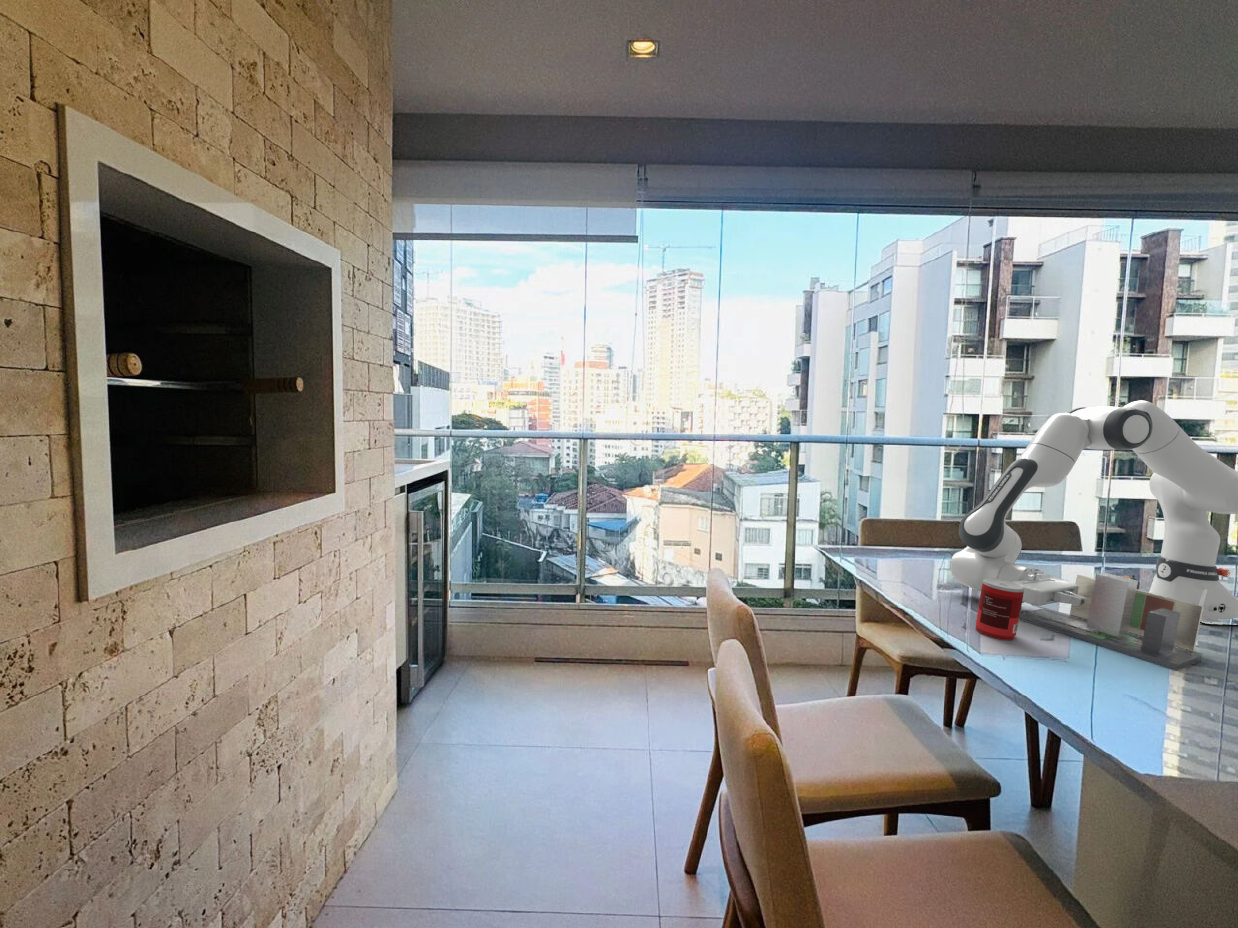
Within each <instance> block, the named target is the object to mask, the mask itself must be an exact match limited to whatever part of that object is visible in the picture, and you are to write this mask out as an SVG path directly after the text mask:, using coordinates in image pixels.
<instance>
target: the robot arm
mask: <svg viewBox="0 0 1238 928" xmlns="http://www.w3.org/2000/svg"><path fill="white" fill-rule="evenodd" d="M1085 449H1089V450H1094V451H1095V450H1097V451H1103V450H1104V451H1108V450H1109V451H1113V450H1117V451H1128V450H1132V451H1133V452H1134V453H1135V455H1137V456H1138V457H1139V459H1140V460H1141V461H1142V462H1143V463H1144V464H1145V465H1146V466H1147V468H1149V469H1150V470H1151V471H1152V472H1153V473H1152V475H1151V477H1150V479H1149V485H1148V486H1149V490H1150V492H1151V494H1152V495H1153V496H1154V497H1155V498H1156V499H1157V502H1158V503H1159V505H1160V508H1161V511H1162V514H1163V522H1164V532H1163V533H1164V534H1163V539H1162V545H1161V552H1160V555H1158V556H1157V560H1156V565H1155V570H1156V573H1155V575H1154V577H1153V579H1152V583H1151V585H1150V588H1149V591H1148V592H1149V593H1153V594H1157V595H1161V596H1165V597H1169V598H1173V599H1177V600H1181V601H1184V602H1188V603H1192V604H1196V605H1200V606H1204V608H1203V613H1202V617H1201V621H1203V622H1210V623H1212V622H1221V621H1219V620H1218V619H1232V618H1238V598H1237V597H1236V596H1235V595H1234V594H1233V593H1232V592H1231V591H1229V590H1228V589H1227V588H1226V587H1225V585H1223V584H1222V583H1221V582H1220V577H1219V576H1222V577H1224V578H1228V577H1229V576H1230V574H1231V571H1230V570H1229V569H1226V568H1223V567H1219V568H1218V567H1217V566H1216V563H1217V558H1218V554H1219V549H1220V544H1221V536H1220V534H1219V532H1218V531H1217V530H1216V529H1215V528H1214V527H1213V526H1212V524H1211V522H1210V521H1209V518H1208V512H1209V513H1214V514H1219V515H1220V514H1221V515H1238V471H1237V470H1236V469H1234V468H1232V467H1230V466H1229V465H1228V464H1225V463H1224V462H1222V461H1221V460H1220V459H1218V458H1217V457H1215V456H1214V455H1212V454H1211V453H1209V452H1208V451H1206V450H1205V449H1203V448H1202V447H1200V446H1199V445H1198V444H1197V443H1196V442H1195V441H1194V440H1193V439H1192V438H1191V437H1190V436H1189V435H1188V434H1187V432H1185V430H1184V429H1183V428H1182V427H1181V426H1180V425H1179V424H1178V422H1176V421H1175V420H1174V419H1173V418H1172V417H1171V416H1170V415H1169V414H1168V413H1166V412H1165V411H1164V410H1163V409H1161V408H1160V407H1158V406H1157V405H1156V404H1154V403H1153V402H1150V401H1147V400H1136V401H1131V402H1128V403H1127V404H1125V405H1123V406H1112V405H1111V406H1110V405H1101V406H1093V407H1092V406H1091V407H1084V406H1083V407H1078V408H1074V409H1071V410H1069V411H1067V412H1059V413H1058V412H1057V413H1054V414H1053V415H1051V416H1049V418H1047V420H1046V421H1045V422H1044V423H1043V424H1042V425H1041V426H1040V428H1039V429H1038V430H1037V431H1036V433H1035V434H1034V435H1033V437H1032V439H1031V440H1030V441H1029V443H1028V445H1027V446H1026V447H1025V449H1024V451H1023V452H1022V454H1021V455H1020V456H1018V458H1017V459H1016V460H1015V461H1013V462H1012V463H1010V465H1008V467H1007V468H1006V469H1005V470H1004V472H1002V474H1001V475H1000V477H999V478H998V479H997V480H996V481H995V483H994V484H993V485H992V487H991V488H990V489H989V490H988V492H987V494H986V495H985V496H984V497H983V499H982V500H981V501H980V503H978V504H977V505H976V506H974V508H972V509H971V510H970V511H968V512H967V513H966V514H965V515H964V516H963V517H962V519H961V520H960V522H959V526H958V535H959V538H960V540H961V542H962V543H963V544H964V545H965V546H966V547H964V548H963V549H962V550H960V551H956V552H955V553H953V555H952V557H951V559H950V567H949V568H950V574H951V575H952V577H953V579H954V580H955V581H956V582H958V583H959V584H961V585H963V586H965V587H968V588H970V589H972V590H973V589H974V590H976V591H980V592H981V588H982V583H983V579H986V578H993V579H1000V580H1005V581H1009V582H1013V583H1016V584H1019V585H1021V586H1022V587H1024V594H1023V600H1022V604H1024V603H1026V604H1029V605H1032V606H1038V607H1040V606H1044V605H1046V606H1047V605H1050V604H1056V603H1057V604H1058V603H1059V604H1060V603H1061V604H1067V605H1068V604H1069V605H1072V604H1073V605H1076V606H1079V605H1084V604H1085V601H1086V599H1085V597H1082V596H1079V595H1077V594H1078V588H1079V587H1078V585H1076V584H1075V583H1076V582H1075V583H1074V582H1072V581H1070V580H1066V579H1064V578H1060V577H1058V576H1054V575H1051V574H1046V573H1045V571H1044V570H1042V569H1038V568H1032V567H1027V566H1024V565H1020V564H1017V563H1016V562H1017V560H1018V558H1019V557H1020V555H1021V552H1022V549H1023V541H1022V538H1021V536H1020V535H1019V534H1018V533H1017V532H1016V531H1015V530H1014V529H1012V528H1011V527H1010V526H1009V525H1008V524H1007V523H1006V520H1007V519H1006V518H1007V516H1008V515H1009V512H1010V511H1011V510H1012V508H1013V507H1014V506H1015V504H1016V503H1017V502H1018V500H1019V499H1020V498H1021V497H1022V495H1023V494H1024V493H1025V492H1026V491H1027V490H1029V489H1031V488H1034V487H1035V488H1050V487H1055V486H1057V485H1059V484H1061V483H1062V482H1063V481H1064V480H1065V479H1066V478H1067V476H1068V475H1069V474H1070V472H1071V471H1072V469H1073V468H1074V466H1075V464H1076V463H1077V461H1078V459H1079V457H1080V456H1081V453H1082V451H1084V450H1085Z"/></svg>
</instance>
